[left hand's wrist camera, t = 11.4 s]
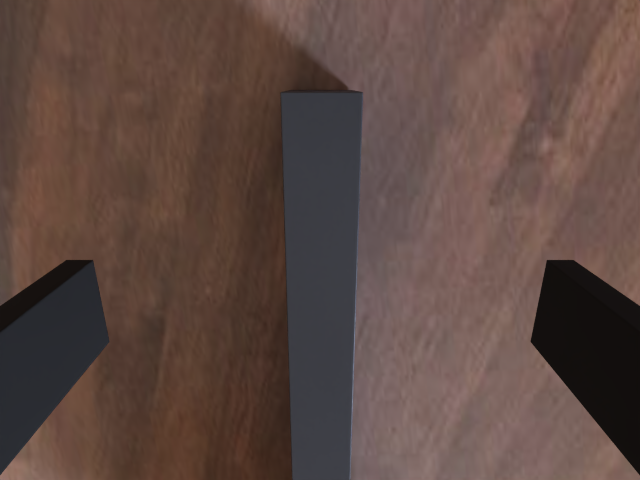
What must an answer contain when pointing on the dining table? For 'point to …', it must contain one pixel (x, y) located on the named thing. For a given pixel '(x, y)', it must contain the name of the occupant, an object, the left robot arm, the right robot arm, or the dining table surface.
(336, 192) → the bar
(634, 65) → the dining table surface
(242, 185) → the dining table surface
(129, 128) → the dining table surface
